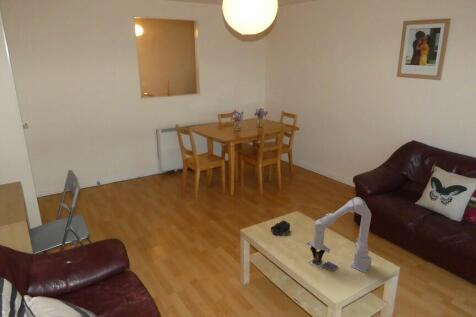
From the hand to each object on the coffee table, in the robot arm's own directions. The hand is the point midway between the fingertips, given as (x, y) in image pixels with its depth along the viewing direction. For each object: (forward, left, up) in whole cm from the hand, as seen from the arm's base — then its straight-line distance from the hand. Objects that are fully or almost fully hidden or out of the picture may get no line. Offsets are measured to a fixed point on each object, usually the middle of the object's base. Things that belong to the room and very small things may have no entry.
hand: (317, 258), depth 209 cm
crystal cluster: (+40, -13, -4) cm, 42 cm away
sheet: (0, 0, -3) cm, 3 cm away
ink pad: (-8, -2, -3) cm, 9 cm away
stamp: (0, 0, -3) cm, 3 cm away
